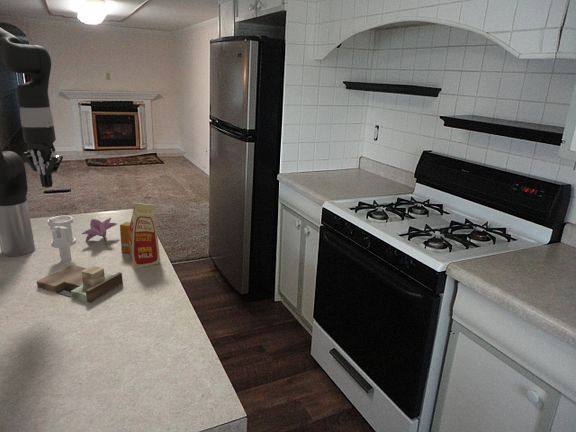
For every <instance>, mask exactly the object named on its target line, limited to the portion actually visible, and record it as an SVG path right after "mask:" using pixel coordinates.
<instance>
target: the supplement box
mask: <svg viewBox="0 0 576 432" xmlns="http://www.w3.org/2000/svg"><path fill="white" fill-rule="evenodd" d="M130 223H131V222H129V221H125V222H123V223H121V224H119V233H120V247H121V249H120V250H121V253H124V254H131V253H130V246H129V234H130Z"/></svg>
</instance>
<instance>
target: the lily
mask: <svg viewBox="0 0 576 432" xmlns="http://www.w3.org/2000/svg"><path fill="white" fill-rule="evenodd" d="M111 220H112V217H109V218H107V219H106V220H103V222H102V221H101V220H99V219H95V218H92V219H91V220H90V222H89V226H90V229H89V228H88V229H87V230H85V231H83V232H82V233H81V235H87V236H86V238H85V241H86V242H87V241H90V240H91V239H93V238H94V237H96V236H98V237H102V238H103V240H104V242H105V245H108V242H107V240H106V237H107V230H109V229H110V228H114V227H115V226H118V223H117V222H111Z"/></svg>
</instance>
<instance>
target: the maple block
mask: <svg viewBox="0 0 576 432" xmlns="http://www.w3.org/2000/svg"><path fill="white" fill-rule="evenodd" d="M81 272H82V279H83V284H84V285H87V286H91V287H93V286H95V285H96V284H98V283H100V282H102V281H104V280H105V275H104V273H105V269H104V267H99V266H97V265H96V266H95V265H91V266H89V267H87V269H85V270H83V271H81Z"/></svg>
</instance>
